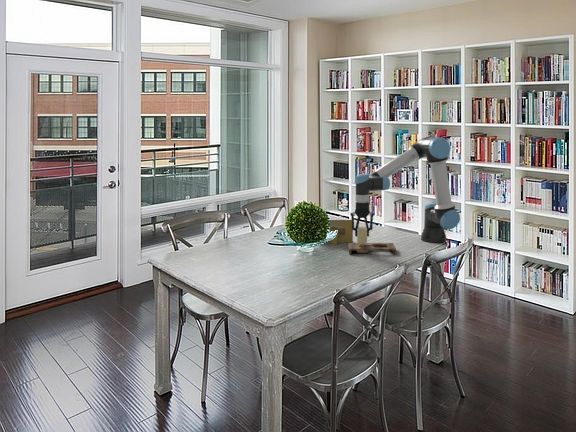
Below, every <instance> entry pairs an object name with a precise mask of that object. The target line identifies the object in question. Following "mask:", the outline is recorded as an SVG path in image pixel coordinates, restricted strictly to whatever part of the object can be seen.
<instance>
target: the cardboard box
mask: <svg viewBox="0 0 576 432" xmlns="http://www.w3.org/2000/svg"><path fill="white" fill-rule="evenodd" d="M329 220H330V232H331V231H335V230H338V233H337V235H336V237H335V238H334V239H333V240H331V241H330V242H329V243H331V246H335V245H338V244H337V243H354V242H353V241H354V230H352V219H329Z"/></svg>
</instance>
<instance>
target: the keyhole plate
mask: <svg viewBox="0 0 576 432" xmlns="http://www.w3.org/2000/svg"><path fill="white" fill-rule="evenodd" d="M347 250H348V255H352V251H356V250H368V251H392V254H393V255H397V247H396V245H395V244H394V242H367V243H366V244H364V246H360V244H359V243H357V242H347Z"/></svg>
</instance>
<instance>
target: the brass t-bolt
mask: <svg viewBox="0 0 576 432" xmlns="http://www.w3.org/2000/svg"><path fill="white" fill-rule="evenodd" d="M366 230H367V229H366V226H358V231H359V244H360V246H364V244H366ZM355 251H356V253H357V254H360V253H361V254H368V252H369V250H355Z"/></svg>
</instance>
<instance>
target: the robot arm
mask: <svg viewBox="0 0 576 432" xmlns="http://www.w3.org/2000/svg"><path fill="white" fill-rule="evenodd" d="M450 152H451V145H450V143H449V141H448V140H447V139H445V138H443V137H440V136H434V137H433V136H425V137H423V138H421V139H419V140H417V141H416V142H414V143H413V144H411V145H409V146H408V149H406V150H405V151H404V152H402V153H400V154H399V155H398V156H396V157H394V158H393V159H391V160H390V161H388V162H387V163H385V164H384V165H382V166H381V167H378V168H377V169H375V170H374V171H373V172H371V173H367V174H366V173H359V174H356V176H355V182H354V183H355V210H354V211H353V212H350V218H351V220H352V230H353V232H354V235H355V237H356V243H359V231H358V227H360V226H359V225H360V220H361V219H364V223H365V227H366V243H368V237H370V231H372V230H373V224H374V222H373V220H374V215H375V212H372V211H370V202H369V201H370V192H372V191H388V190H389V189H390V188H391V180H390V178H389V177H391V176H393V175H394V174H395V173H397V172H399V171H400V170H402V169H403V168H405V167H407V166H408V165H410V164H411V163H413V162H415V161H419V160H420V159H423V158H426V162H427V164H429V165H430V171H431V177H432V184H433V190H434V198H435V203H427V204H425V206H424V220H423V221H424V223H423V224H424V226H423V230H422V233H421V236H420V240H421V241H423V242H426V243H445V242H446V241H447V234H446V231H445V229H446V230H451V229H455V228H456V227H457V226H458V225H459V223H460V220H461V214H460V213H459V211H457V209H456V205H455V203H454V202H452V196H451V190H450V182H449V176H448V171H447V161H448V160H449V158H448V156H449V154H450ZM355 215H356V217H357V219H356V223H355ZM368 216H370V218H369V219H370V220H369V223H368V218H367V217H368Z"/></svg>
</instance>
